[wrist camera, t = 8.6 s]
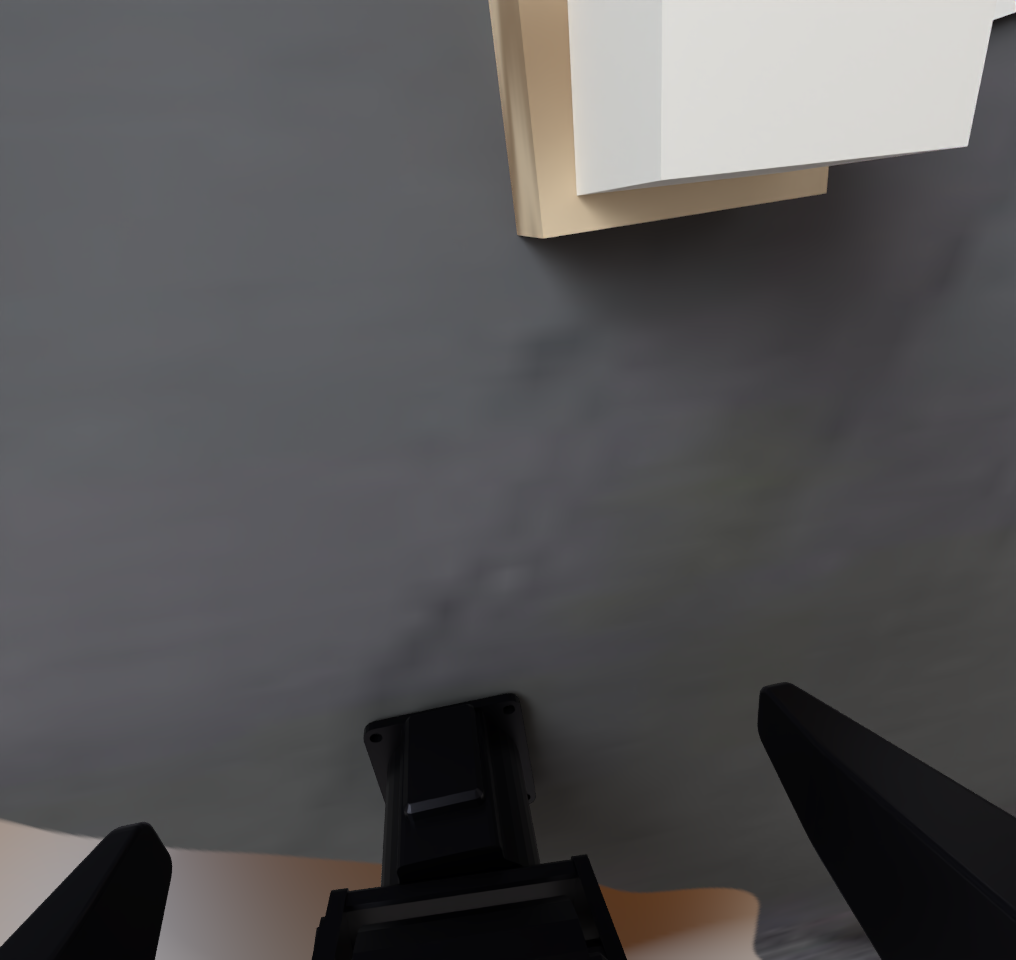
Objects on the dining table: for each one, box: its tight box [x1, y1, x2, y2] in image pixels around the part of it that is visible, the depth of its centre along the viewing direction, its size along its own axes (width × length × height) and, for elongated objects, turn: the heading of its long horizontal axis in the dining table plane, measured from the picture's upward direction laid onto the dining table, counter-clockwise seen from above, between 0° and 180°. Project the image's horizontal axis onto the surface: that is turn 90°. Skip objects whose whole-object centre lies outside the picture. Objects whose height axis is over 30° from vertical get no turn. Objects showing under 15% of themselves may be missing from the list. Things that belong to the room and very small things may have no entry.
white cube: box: [567, 0, 997, 196], centre depth 10 cm, size 5×5×5 cm
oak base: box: [489, 0, 829, 239], centre depth 14 cm, size 7×7×4 cm
